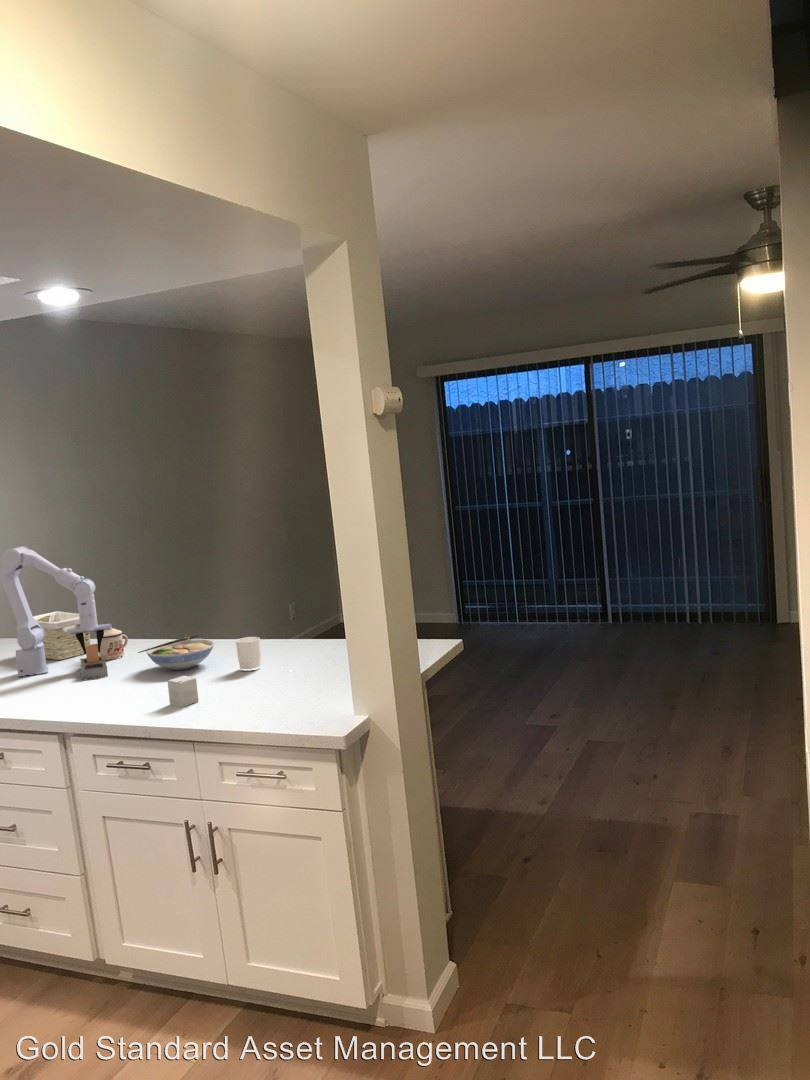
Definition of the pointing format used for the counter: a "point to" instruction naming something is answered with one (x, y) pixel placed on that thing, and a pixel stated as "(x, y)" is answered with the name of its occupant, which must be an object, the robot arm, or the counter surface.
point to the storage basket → (61, 635)
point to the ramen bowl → (180, 652)
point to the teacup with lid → (112, 644)
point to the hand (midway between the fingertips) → (92, 652)
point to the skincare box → (182, 691)
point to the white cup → (248, 652)
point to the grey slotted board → (94, 668)
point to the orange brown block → (92, 653)
